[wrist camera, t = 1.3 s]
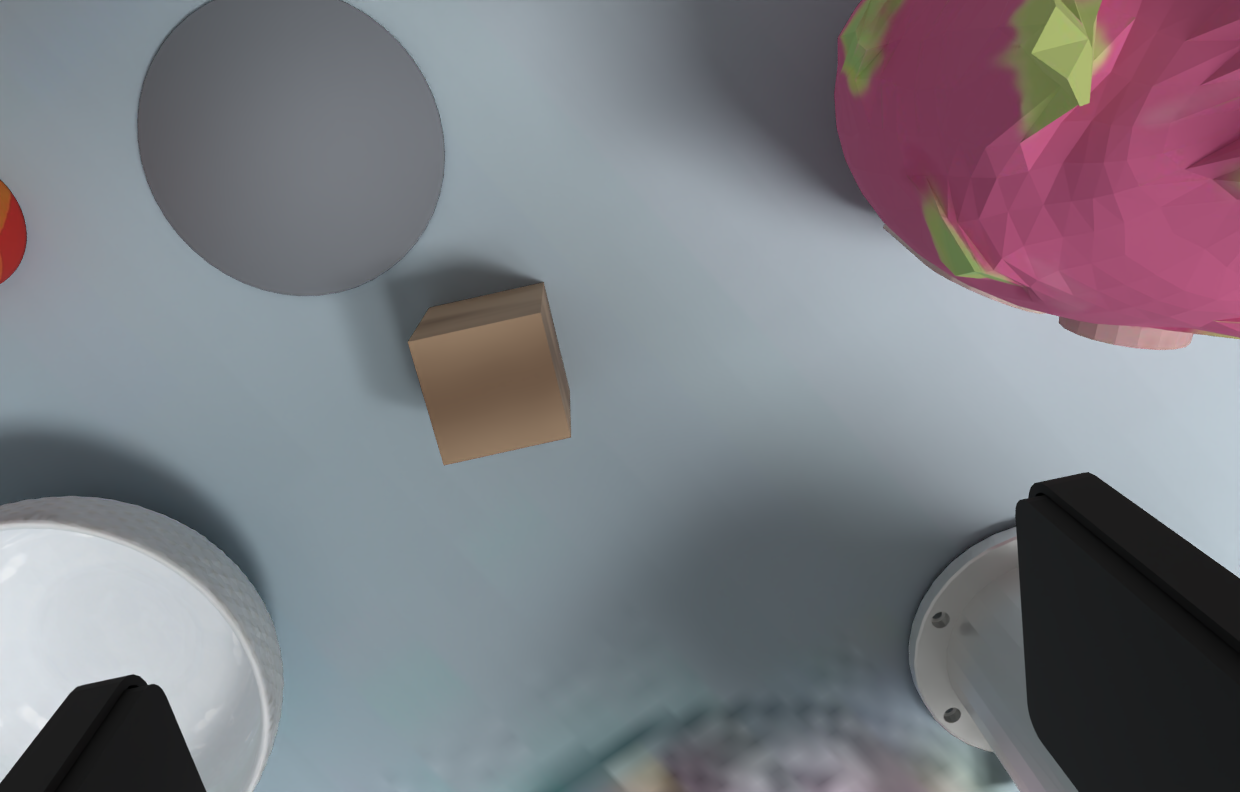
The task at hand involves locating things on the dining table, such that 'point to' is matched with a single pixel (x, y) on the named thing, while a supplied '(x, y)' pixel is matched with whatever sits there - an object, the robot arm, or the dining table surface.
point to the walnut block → (492, 374)
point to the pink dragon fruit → (1057, 154)
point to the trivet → (291, 143)
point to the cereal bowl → (135, 629)
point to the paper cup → (10, 233)
